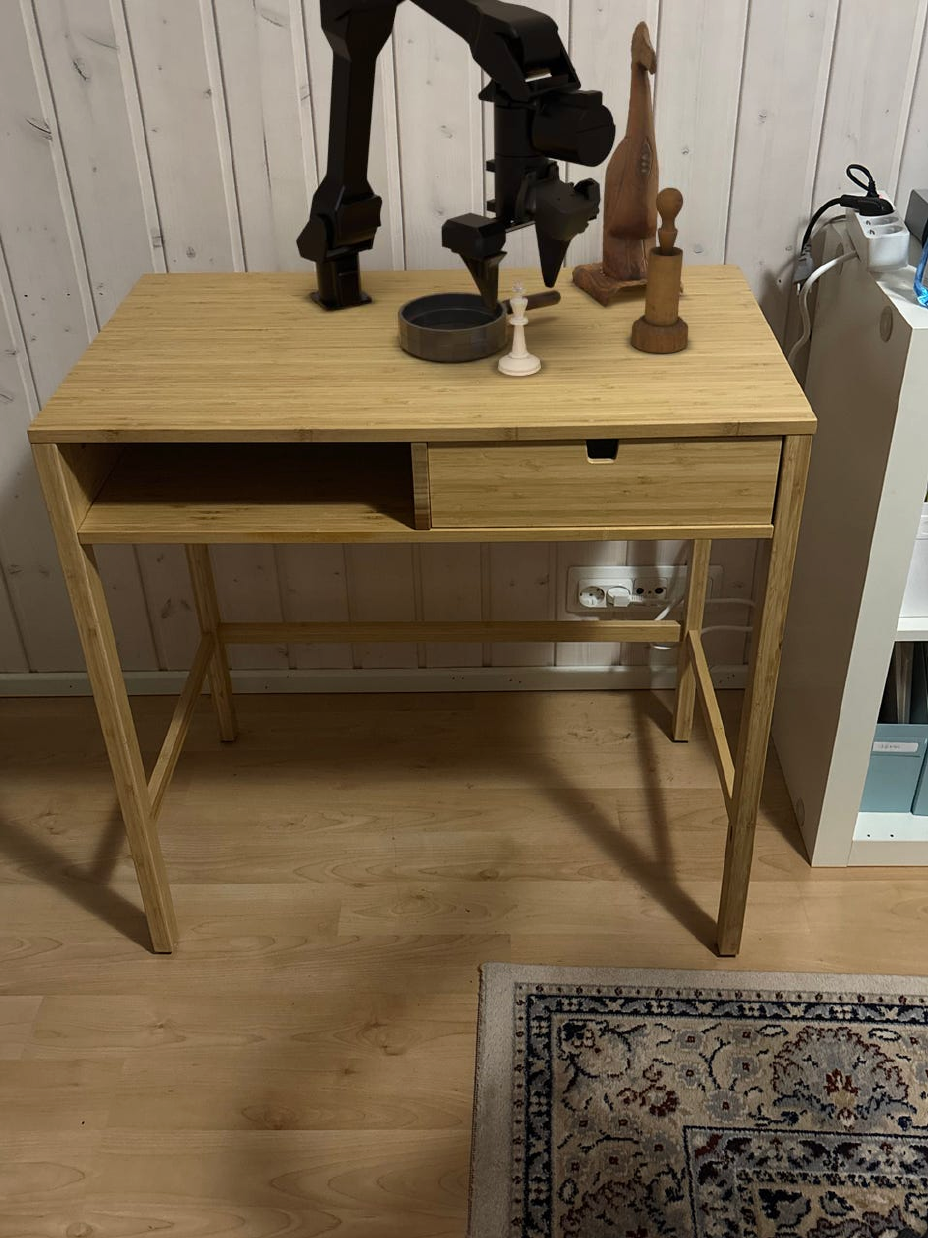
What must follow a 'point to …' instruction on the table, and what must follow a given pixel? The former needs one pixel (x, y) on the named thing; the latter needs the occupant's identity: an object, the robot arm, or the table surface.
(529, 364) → the chess piece
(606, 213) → the bird sculpture
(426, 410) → the table surface
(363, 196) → the robot arm
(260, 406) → the table surface
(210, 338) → the table surface
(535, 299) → the pan handle
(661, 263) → the mortar and pestle
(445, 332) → the pan
